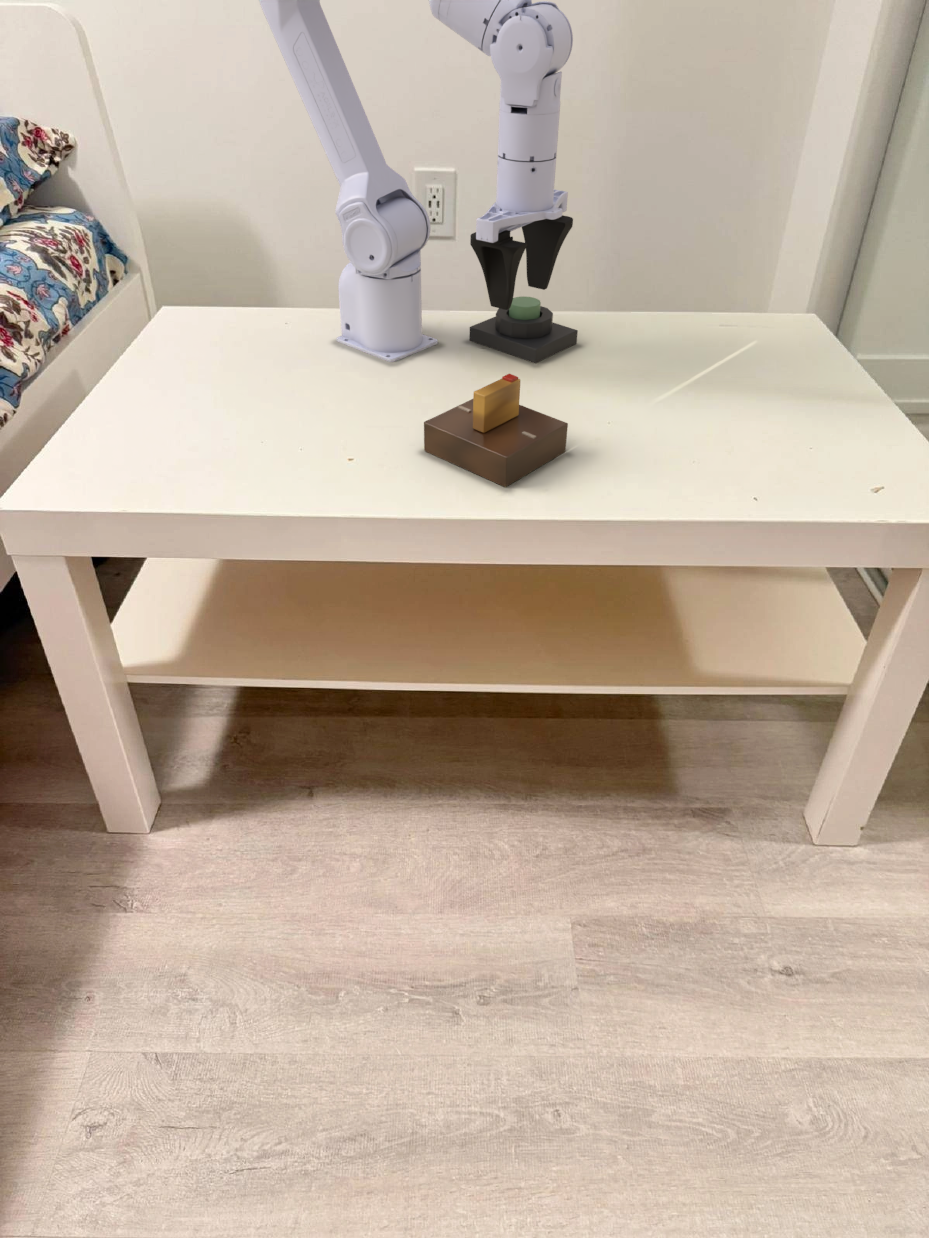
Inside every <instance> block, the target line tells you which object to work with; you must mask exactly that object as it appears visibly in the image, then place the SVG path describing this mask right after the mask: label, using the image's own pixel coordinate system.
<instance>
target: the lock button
mask: <svg viewBox="0 0 929 1238" xmlns="http://www.w3.org/2000/svg"><path fill="white" fill-rule="evenodd" d="M541 304H542V302H541V300H540V299H538V298H536V297H534V296H533V297H532V296H524V295H523V296H515V297H513V301H512V304H511V307H510V309H509V317H512V318H515V319H520V320H531V319H537V318H539V317H540V306H542V305H541Z"/></svg>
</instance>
